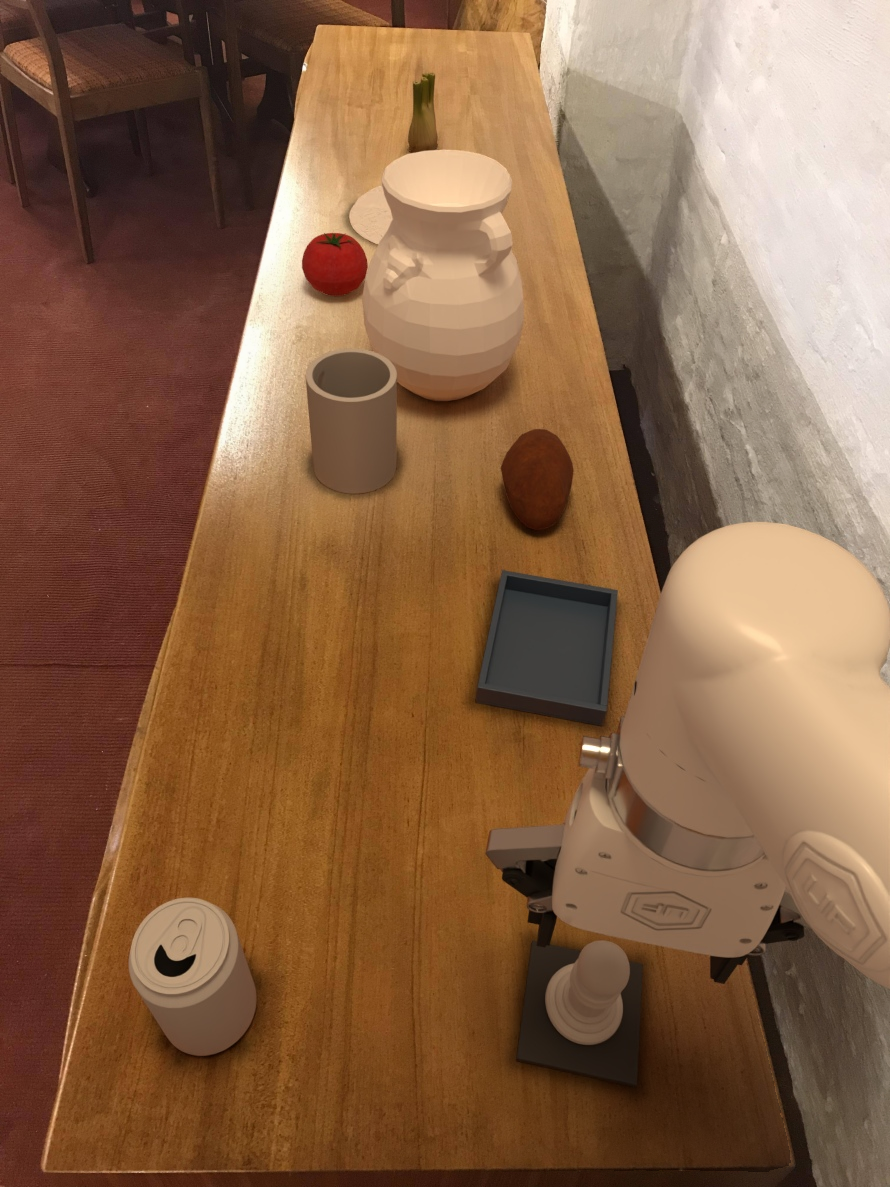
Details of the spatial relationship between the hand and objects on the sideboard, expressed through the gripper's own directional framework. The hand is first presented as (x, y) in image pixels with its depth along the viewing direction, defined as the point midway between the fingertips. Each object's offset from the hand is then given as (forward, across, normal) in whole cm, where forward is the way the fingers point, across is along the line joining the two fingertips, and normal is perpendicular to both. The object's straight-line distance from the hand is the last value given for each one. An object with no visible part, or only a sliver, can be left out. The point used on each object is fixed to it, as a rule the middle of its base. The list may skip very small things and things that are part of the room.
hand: (629, 938), depth 51 cm
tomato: (+12, -43, +88) cm, 98 cm away
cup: (+14, -31, +53) cm, 63 cm away
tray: (+14, -7, +32) cm, 36 cm away
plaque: (+12, -37, +111) cm, 117 cm away
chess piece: (+15, -1, +1) cm, 15 cm away
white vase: (+13, -25, +71) cm, 76 cm away
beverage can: (+15, -26, -4) cm, 30 cm away
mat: (+15, -1, +1) cm, 15 cm away
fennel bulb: (+12, -41, +135) cm, 141 cm away
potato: (+14, -11, +52) cm, 55 cm away
